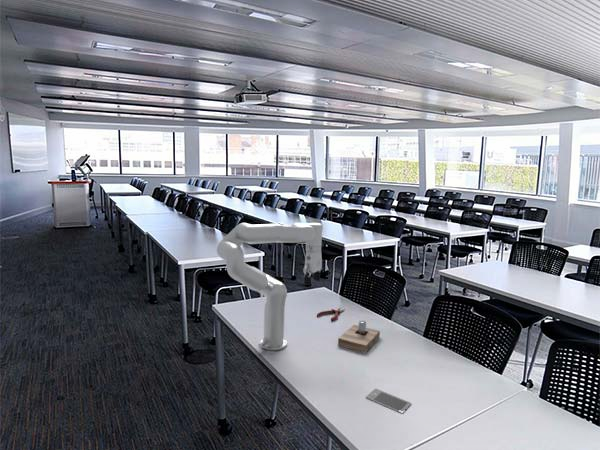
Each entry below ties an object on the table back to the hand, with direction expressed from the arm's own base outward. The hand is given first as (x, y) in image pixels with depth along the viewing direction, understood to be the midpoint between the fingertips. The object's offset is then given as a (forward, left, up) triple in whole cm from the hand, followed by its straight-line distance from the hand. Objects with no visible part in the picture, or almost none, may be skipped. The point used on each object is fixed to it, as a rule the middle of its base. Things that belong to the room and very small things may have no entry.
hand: (312, 282), depth 200 cm
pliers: (+33, +1, -29) cm, 44 cm away
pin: (+12, -23, -28) cm, 38 cm away
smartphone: (-33, -51, -29) cm, 67 cm away
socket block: (+9, -23, -28) cm, 38 cm away
